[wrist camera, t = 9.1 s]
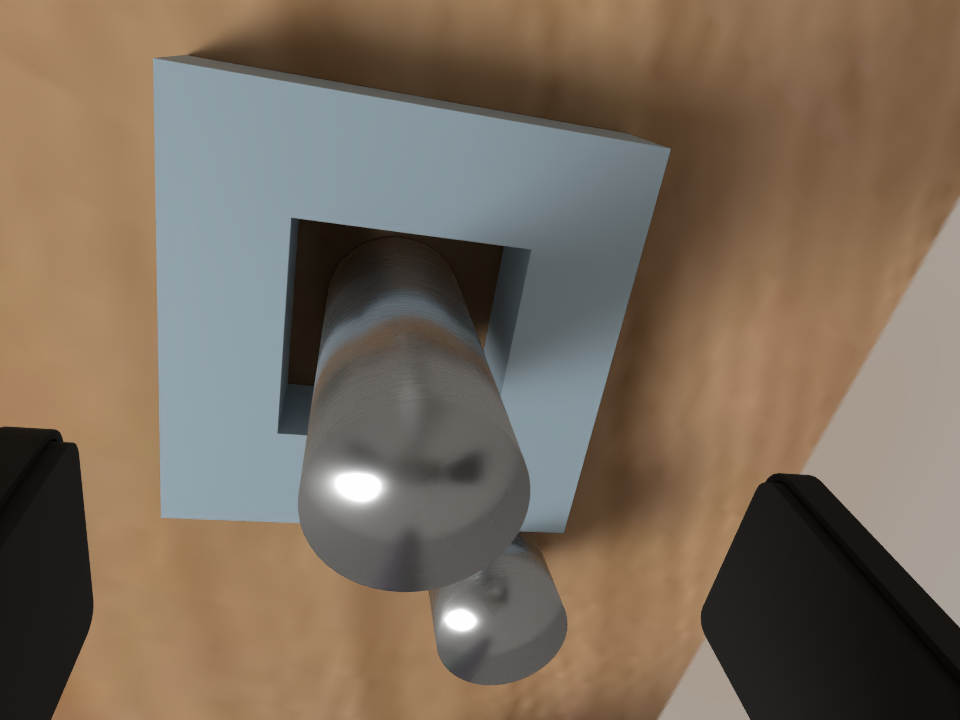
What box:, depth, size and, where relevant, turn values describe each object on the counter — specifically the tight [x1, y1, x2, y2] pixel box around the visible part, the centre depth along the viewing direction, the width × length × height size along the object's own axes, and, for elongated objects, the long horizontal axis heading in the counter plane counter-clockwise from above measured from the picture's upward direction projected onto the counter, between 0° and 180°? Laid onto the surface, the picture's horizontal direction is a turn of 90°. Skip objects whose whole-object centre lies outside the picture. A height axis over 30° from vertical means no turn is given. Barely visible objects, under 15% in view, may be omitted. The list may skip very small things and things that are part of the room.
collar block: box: [153, 55, 671, 533], centre depth 19 cm, size 12×12×3 cm
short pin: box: [429, 531, 567, 685], centre depth 23 cm, size 4×4×5 cm
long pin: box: [298, 237, 530, 592], centre depth 16 cm, size 4×4×10 cm
